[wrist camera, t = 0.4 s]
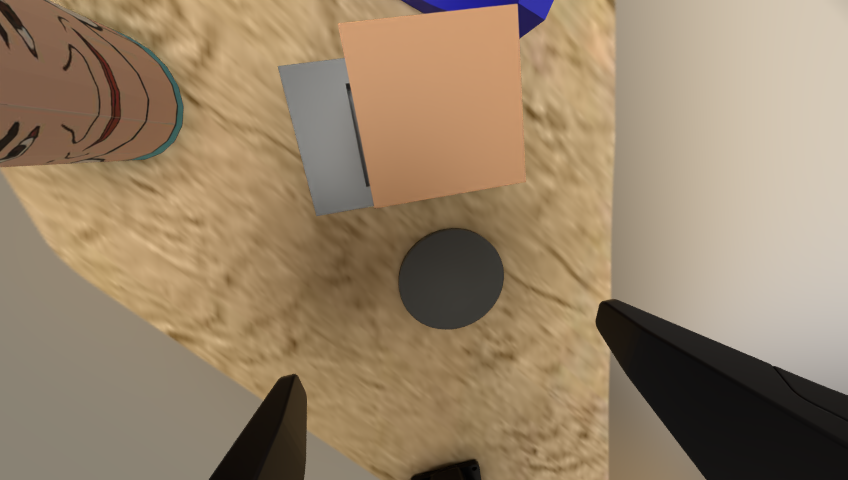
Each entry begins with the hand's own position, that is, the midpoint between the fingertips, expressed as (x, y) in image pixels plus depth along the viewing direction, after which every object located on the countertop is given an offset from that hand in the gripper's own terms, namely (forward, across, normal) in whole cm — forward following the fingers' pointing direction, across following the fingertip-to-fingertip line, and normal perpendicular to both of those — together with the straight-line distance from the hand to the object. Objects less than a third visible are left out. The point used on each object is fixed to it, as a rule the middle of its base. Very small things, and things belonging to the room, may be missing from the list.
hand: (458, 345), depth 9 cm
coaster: (+12, -3, +8) cm, 15 cm away
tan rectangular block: (+14, -1, -3) cm, 15 cm away
